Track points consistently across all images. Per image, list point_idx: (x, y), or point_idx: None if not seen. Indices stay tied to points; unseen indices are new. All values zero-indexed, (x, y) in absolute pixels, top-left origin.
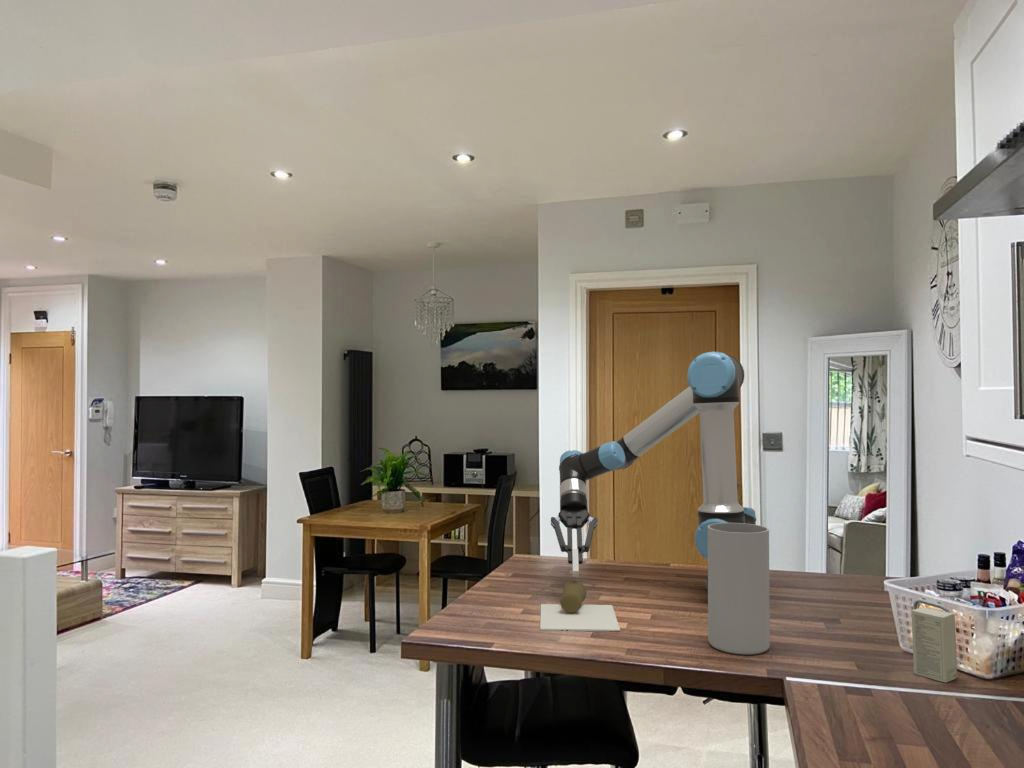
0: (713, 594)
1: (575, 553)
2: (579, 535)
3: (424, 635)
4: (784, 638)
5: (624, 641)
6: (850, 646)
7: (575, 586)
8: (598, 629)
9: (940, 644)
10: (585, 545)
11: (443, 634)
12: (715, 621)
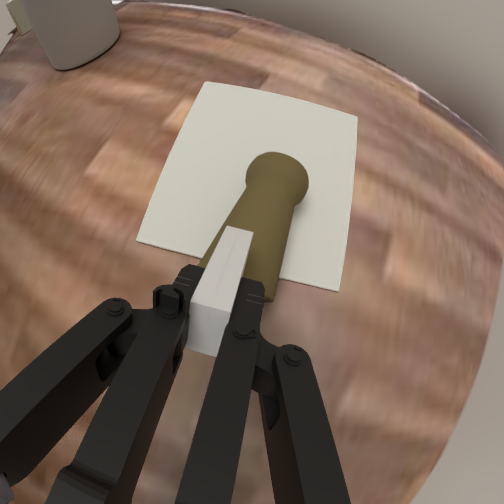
0: None
1: (217, 285)
2: (128, 399)
3: (497, 164)
4: (26, 74)
5: (220, 54)
6: (7, 66)
7: (246, 226)
8: (245, 88)
9: None
10: (125, 311)
11: (482, 158)
12: (112, 8)
